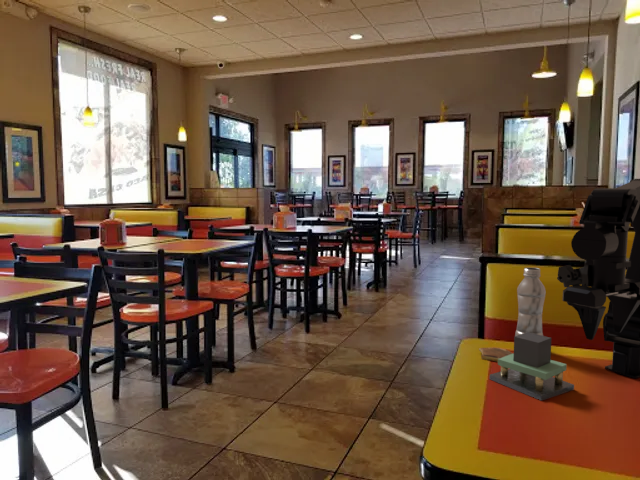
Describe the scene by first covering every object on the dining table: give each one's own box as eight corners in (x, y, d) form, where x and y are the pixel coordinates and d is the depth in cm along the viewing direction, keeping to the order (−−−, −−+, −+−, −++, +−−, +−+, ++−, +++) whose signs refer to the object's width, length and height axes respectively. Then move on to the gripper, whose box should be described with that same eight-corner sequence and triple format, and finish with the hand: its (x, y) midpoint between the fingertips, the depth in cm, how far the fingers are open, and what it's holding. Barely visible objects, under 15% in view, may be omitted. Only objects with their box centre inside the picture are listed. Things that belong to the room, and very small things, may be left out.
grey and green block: (518, 356, 105) (520, 328, 104) (566, 370, 97) (567, 339, 96) (497, 364, 100) (498, 335, 99) (545, 379, 92) (547, 347, 91)
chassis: (521, 370, 106) (522, 354, 106) (573, 389, 96) (574, 372, 96) (489, 379, 101) (490, 362, 101) (541, 400, 91) (542, 382, 91)
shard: (526, 371, 107) (526, 363, 107) (491, 371, 107) (492, 363, 107) (506, 354, 118) (506, 347, 118) (474, 354, 118) (474, 347, 118)
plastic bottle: (509, 349, 120) (512, 268, 118) (522, 343, 124) (525, 265, 122) (535, 356, 115) (539, 272, 113) (547, 350, 120) (551, 268, 118)
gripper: (595, 247, 104) (591, 319, 106) (539, 253, 95) (535, 332, 97) (652, 253, 95) (647, 332, 96) (595, 260, 85) (590, 348, 87)
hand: (603, 335), depth 94 cm, fingers open, 9 cm apart
